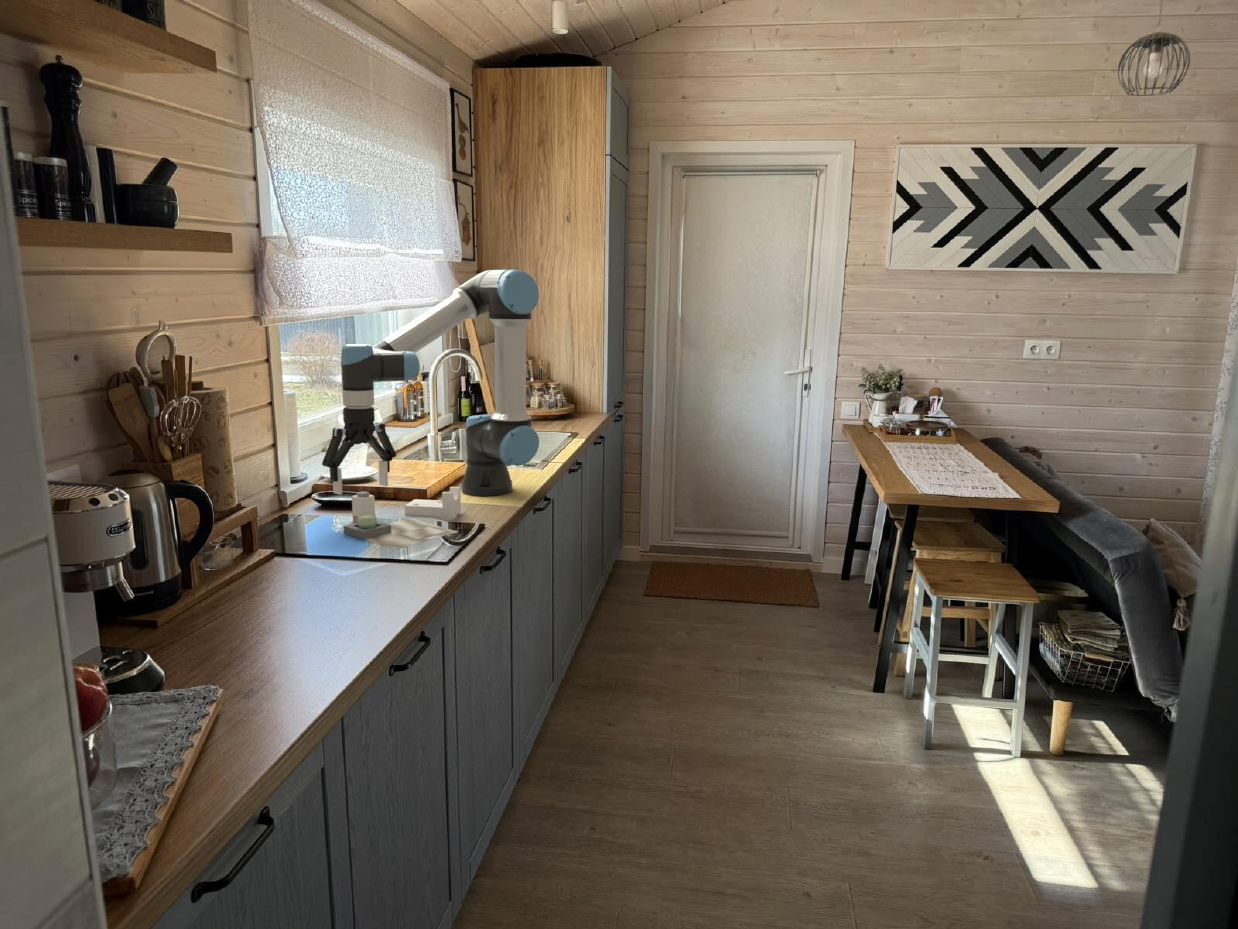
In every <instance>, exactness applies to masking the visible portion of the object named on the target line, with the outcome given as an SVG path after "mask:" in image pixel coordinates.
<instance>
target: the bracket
mask: <svg viewBox="0 0 1238 929" xmlns="http://www.w3.org/2000/svg"><path fill="white" fill-rule="evenodd" d="M461 492H462V489H461V486H450V487H449V491H442V492H441V499H442V500H439V499H437V500H435V499H418V498H415V499H413V500H411V501H410V502H407V504H405V505H404V515H405V516H406V515H407V516H420V517H421V516H422V517H430V518H434V519H438V520H442V521H454V519H456V518H457V516H458V514H459V513H460V512H462V501H461V499H462V495H461Z"/></svg>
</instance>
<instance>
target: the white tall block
mask: <svg viewBox="0 0 1238 929" xmlns="http://www.w3.org/2000/svg"><path fill="white" fill-rule="evenodd" d="M375 501H376V499H375V495H373V494H370V492H369V491H357V492H356V494H355V495H354V494H353V495H351V505H352V506H351V509H352V522H353V523H358V517H360V516H364V515H373V516H376V502H375Z"/></svg>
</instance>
